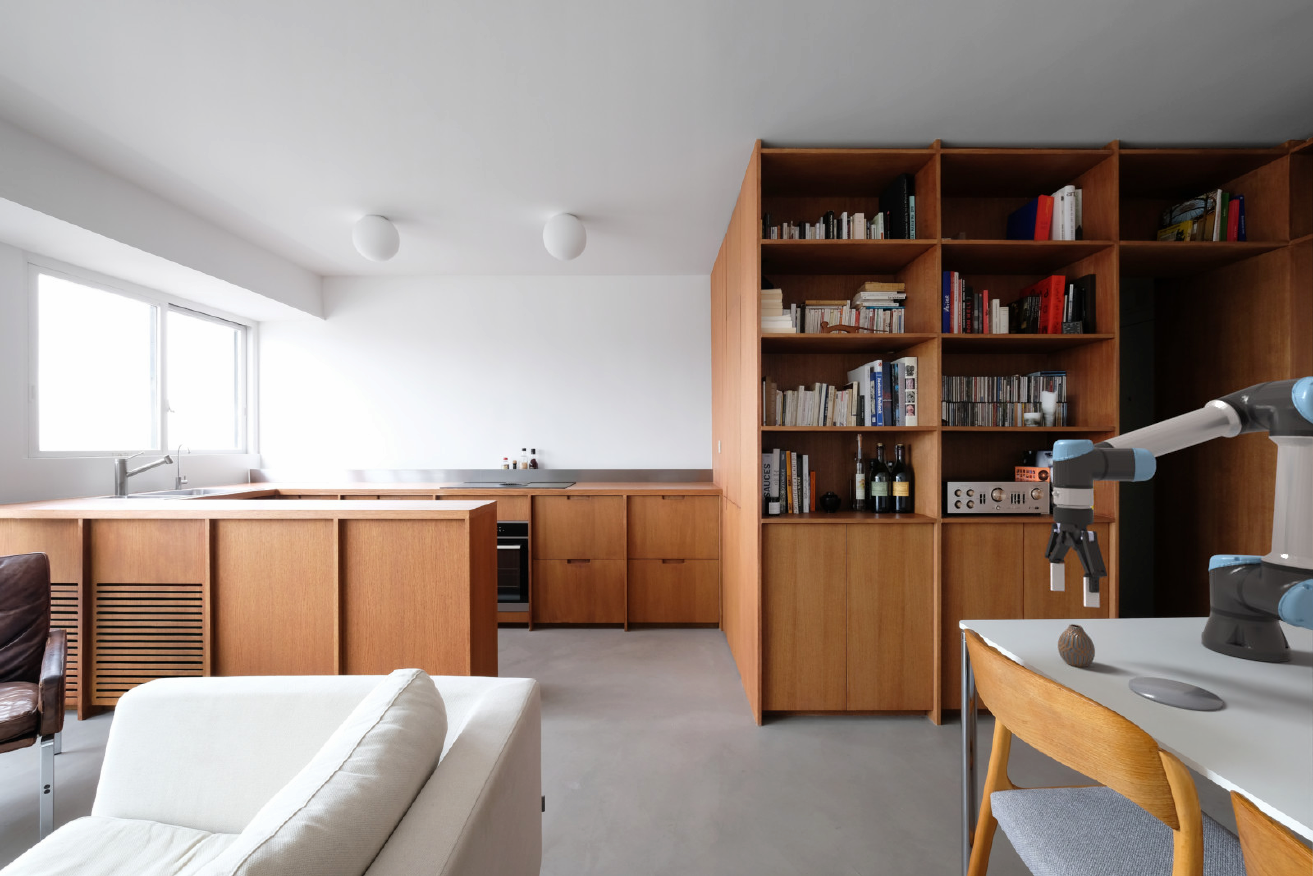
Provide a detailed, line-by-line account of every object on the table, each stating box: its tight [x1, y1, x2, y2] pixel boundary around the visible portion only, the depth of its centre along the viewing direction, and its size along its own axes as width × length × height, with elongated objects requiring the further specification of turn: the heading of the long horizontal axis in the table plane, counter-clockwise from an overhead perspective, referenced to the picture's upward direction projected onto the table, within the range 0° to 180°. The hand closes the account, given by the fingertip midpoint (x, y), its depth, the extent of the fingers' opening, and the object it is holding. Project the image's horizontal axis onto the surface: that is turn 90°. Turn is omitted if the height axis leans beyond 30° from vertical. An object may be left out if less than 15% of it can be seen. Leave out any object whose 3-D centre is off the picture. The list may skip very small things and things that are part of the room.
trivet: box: [1128, 676, 1223, 712], centre depth 115 cm, size 14×14×1 cm
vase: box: [1057, 623, 1096, 668], centre depth 132 cm, size 7×7×9 cm
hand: (1073, 598), depth 132 cm, fingers open, 13 cm apart
